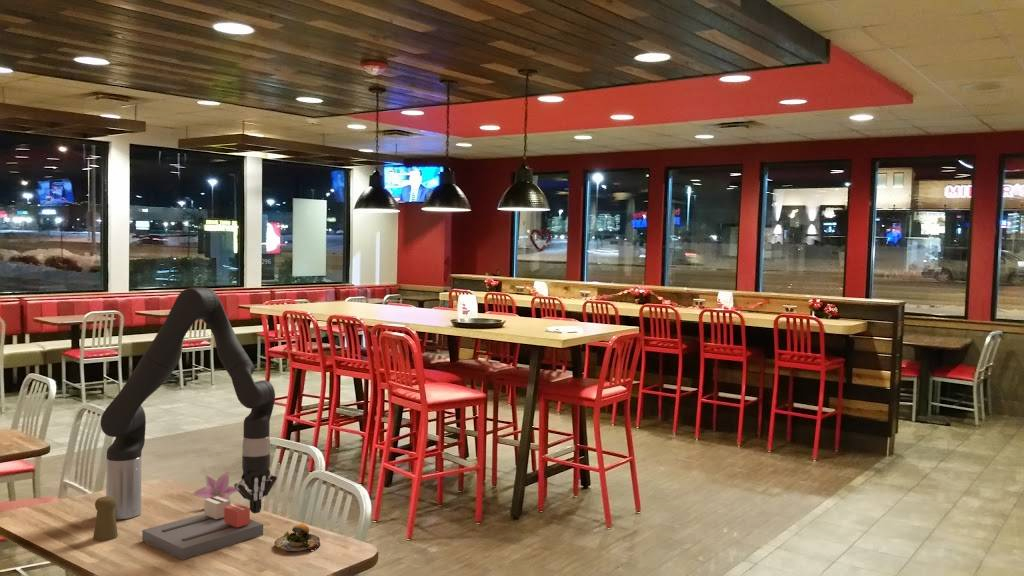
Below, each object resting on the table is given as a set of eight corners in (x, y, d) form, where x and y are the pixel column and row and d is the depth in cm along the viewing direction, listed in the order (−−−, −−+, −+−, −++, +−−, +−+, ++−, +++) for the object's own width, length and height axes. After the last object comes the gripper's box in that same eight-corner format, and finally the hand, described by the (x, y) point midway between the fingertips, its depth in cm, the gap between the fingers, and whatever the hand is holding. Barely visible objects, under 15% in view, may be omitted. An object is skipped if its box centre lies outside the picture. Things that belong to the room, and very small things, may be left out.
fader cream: (204, 514, 225) (204, 498, 225) (217, 511, 228) (217, 495, 228) (216, 519, 222) (216, 503, 221) (229, 515, 225) (229, 499, 225)
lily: (187, 512, 240) (190, 489, 236) (206, 487, 251) (210, 464, 246) (224, 525, 240) (228, 502, 236) (242, 499, 251) (246, 477, 246)
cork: (107, 542, 212) (107, 501, 211) (87, 540, 213) (87, 499, 212) (122, 534, 218) (123, 495, 217) (103, 532, 219) (103, 493, 218)
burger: (266, 546, 212) (266, 519, 212) (304, 536, 221) (304, 509, 220) (290, 559, 204) (290, 531, 204) (329, 547, 213) (329, 520, 212)
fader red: (224, 522, 219) (224, 506, 219) (237, 519, 222) (237, 502, 222) (236, 527, 216) (237, 511, 215) (249, 523, 219) (249, 507, 219)
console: (142, 541, 213) (142, 529, 213) (222, 518, 232) (222, 507, 232) (182, 560, 201) (182, 547, 201) (263, 534, 220) (263, 523, 220)
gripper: (268, 445, 231) (267, 504, 231) (227, 454, 220) (227, 515, 221) (284, 450, 226) (283, 509, 227) (243, 458, 215) (242, 521, 216)
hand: (255, 512), depth 224 cm, fingers closed
